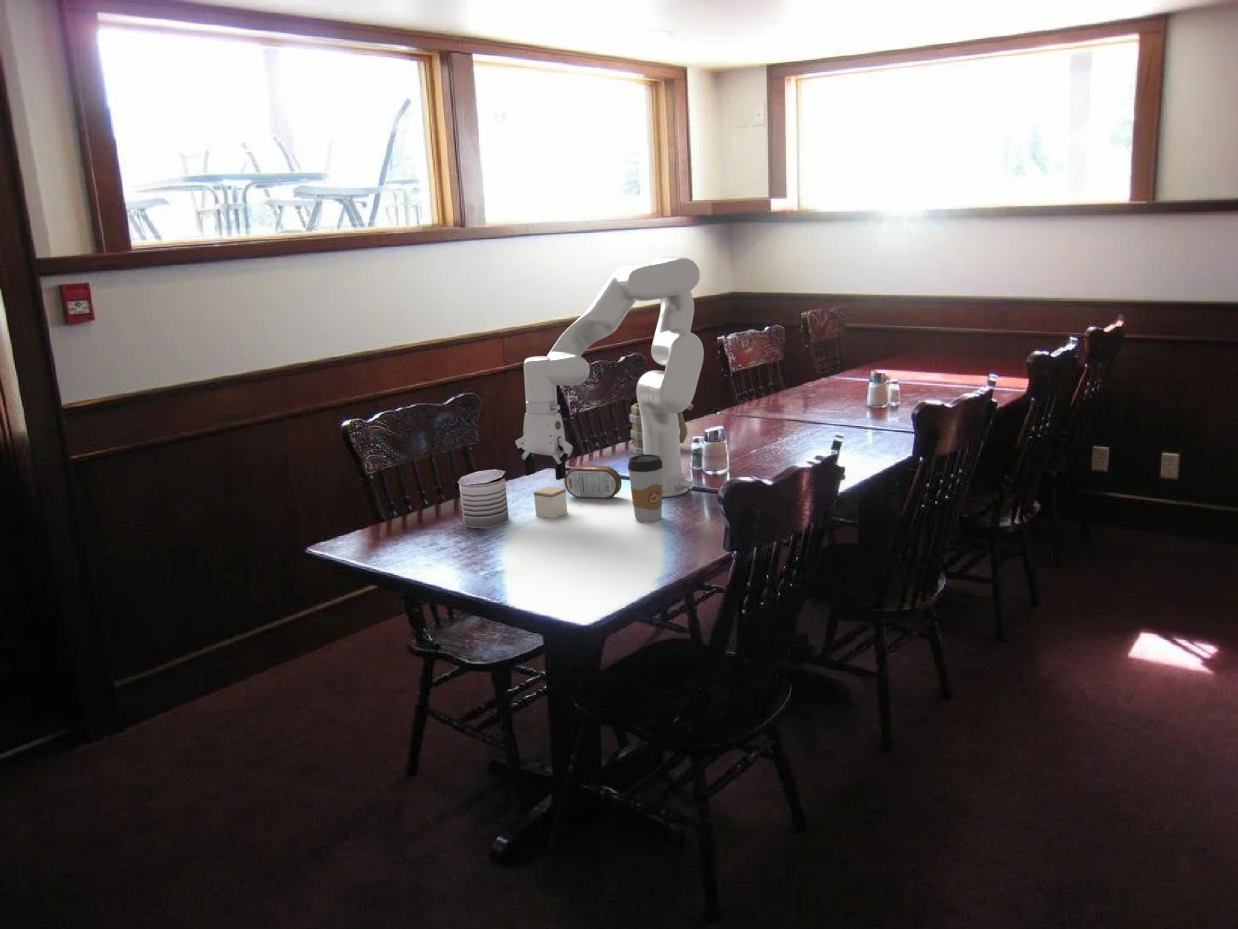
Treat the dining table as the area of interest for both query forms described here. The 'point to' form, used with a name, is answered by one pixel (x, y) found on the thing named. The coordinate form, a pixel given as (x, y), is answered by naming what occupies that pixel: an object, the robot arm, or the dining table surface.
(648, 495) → the coffee cup
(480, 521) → the can
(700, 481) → the dining table surface
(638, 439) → the tankard
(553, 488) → the cream block
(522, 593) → the dining table surface
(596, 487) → the tin
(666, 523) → the dining table surface
